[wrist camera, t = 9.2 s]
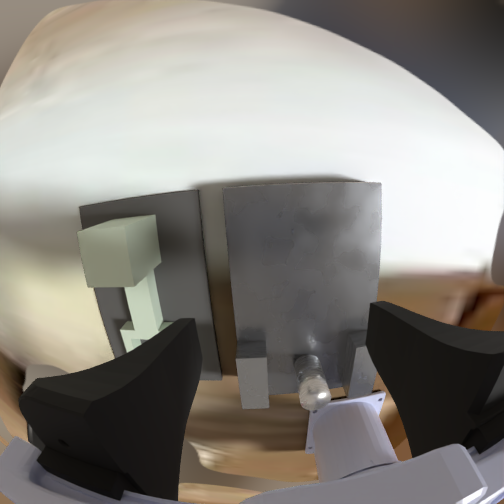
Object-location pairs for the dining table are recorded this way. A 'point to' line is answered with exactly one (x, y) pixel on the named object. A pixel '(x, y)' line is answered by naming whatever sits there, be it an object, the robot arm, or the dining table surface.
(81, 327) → the dining table surface
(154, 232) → the sage hook
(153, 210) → the black mat
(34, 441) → the phone
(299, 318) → the vise
